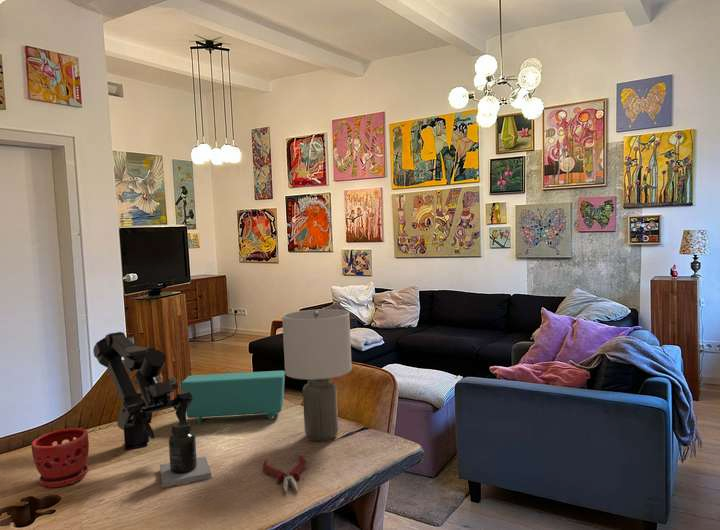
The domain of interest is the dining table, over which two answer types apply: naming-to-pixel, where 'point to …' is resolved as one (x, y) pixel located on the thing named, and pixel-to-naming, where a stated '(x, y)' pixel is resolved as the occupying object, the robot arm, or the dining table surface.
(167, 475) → the grey flat square slab
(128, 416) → the robot arm
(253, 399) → the teal foam block
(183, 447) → the supplement bottle
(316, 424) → the lamp
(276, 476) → the pliers
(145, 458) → the dining table surface
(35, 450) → the plant pot
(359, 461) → the dining table surface
